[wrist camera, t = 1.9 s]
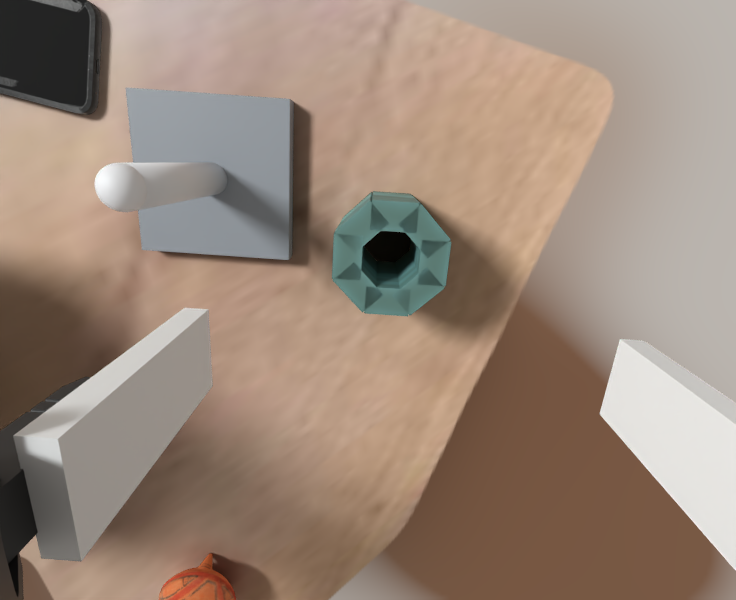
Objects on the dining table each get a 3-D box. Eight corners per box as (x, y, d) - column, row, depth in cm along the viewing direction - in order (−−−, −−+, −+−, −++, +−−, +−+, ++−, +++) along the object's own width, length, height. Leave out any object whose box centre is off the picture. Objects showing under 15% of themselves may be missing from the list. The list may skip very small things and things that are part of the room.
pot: (165, 543, 46) (149, 604, 40) (240, 538, 48) (236, 595, 42) (164, 598, 48) (149, 664, 42) (236, 592, 50) (232, 654, 44)
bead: (340, 279, 37) (330, 310, 29) (344, 189, 34) (335, 197, 27) (428, 285, 37) (441, 318, 29) (438, 195, 34) (455, 205, 27)
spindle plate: (151, 246, 36) (8, 300, 22) (136, 90, 32) (-48, 36, 18) (292, 256, 36) (238, 315, 22) (293, 101, 32) (229, 56, 18)
